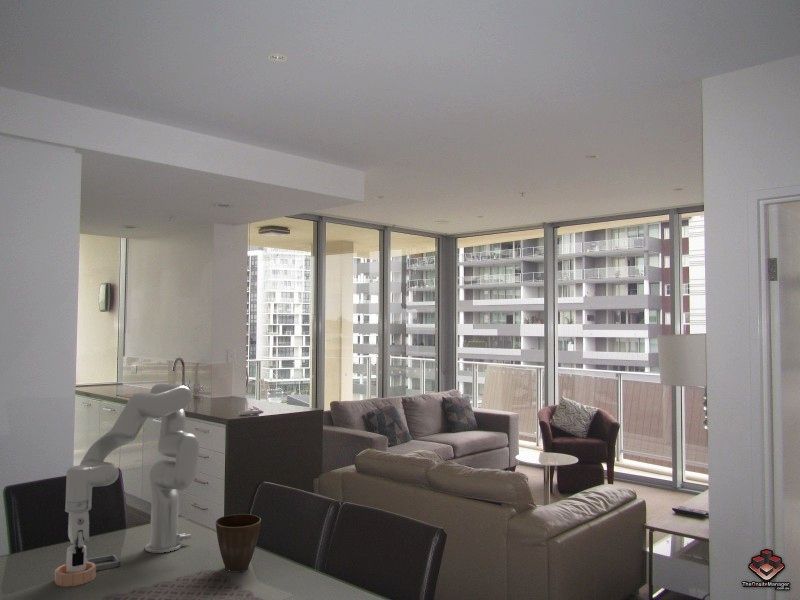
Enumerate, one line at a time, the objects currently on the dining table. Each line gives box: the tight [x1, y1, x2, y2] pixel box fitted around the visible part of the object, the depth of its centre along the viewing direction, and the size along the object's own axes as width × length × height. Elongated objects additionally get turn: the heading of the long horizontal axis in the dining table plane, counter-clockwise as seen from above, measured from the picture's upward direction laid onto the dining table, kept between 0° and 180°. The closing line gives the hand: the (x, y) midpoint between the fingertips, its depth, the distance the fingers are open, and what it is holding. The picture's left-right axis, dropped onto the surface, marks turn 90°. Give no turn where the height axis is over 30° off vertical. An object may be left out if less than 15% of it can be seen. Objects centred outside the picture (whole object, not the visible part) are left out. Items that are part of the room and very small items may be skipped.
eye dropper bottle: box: [65, 541, 87, 573], centre depth 203 cm, size 4×6×12 cm
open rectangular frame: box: [86, 553, 121, 572], centre depth 215 cm, size 10×9×2 cm
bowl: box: [54, 561, 97, 587], centre depth 203 cm, size 11×11×4 cm
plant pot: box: [215, 513, 262, 572], centre depth 215 cm, size 15×15×16 cm
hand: (76, 562), depth 203 cm, fingers closed on eye dropper bottle, 4 cm apart
